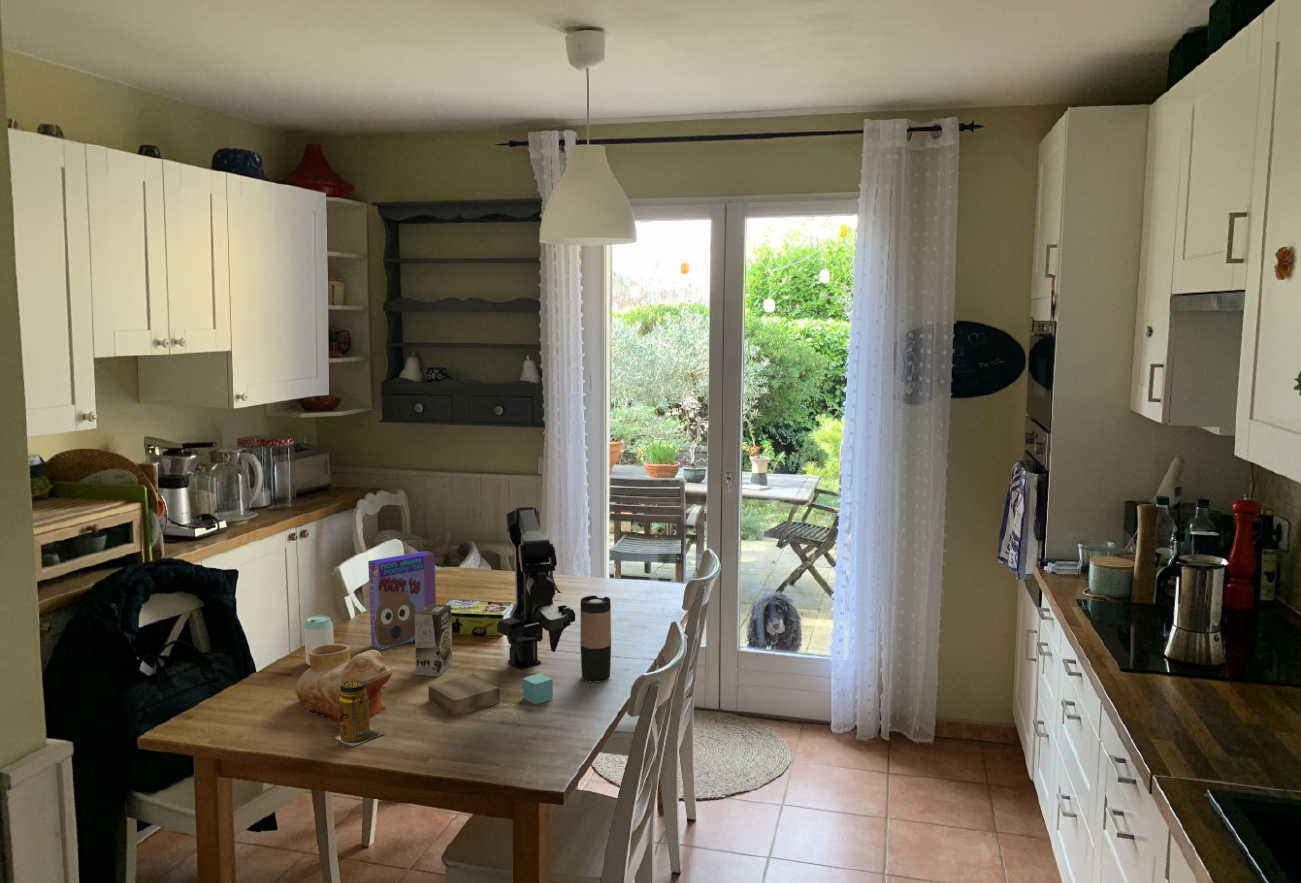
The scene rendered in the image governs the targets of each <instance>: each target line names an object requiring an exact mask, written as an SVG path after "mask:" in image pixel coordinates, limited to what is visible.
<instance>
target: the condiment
mask: <svg viewBox="0 0 1301 883" xmlns="http://www.w3.org/2000/svg"><path fill="white" fill-rule="evenodd" d="M340 689H341V693H340V694H341V696H340V698H339V709H340V722H339V730H340V731H339V732H340V734H339V735H337V736H341V743H343V742H344V743H343V744H345V745H348V746H350V747H355V746H357V745H360V744H363V743H365V742H368V741H370V740H372V739H375V738H378V737H380V736H382V735H385V734H386V733H385V732H383V731H380V730H378V729H376V728H374V727H372V726H371V725H370V718H369V699H368V694H367V693H366V691H367V690H366V683H365V682H364V681H361V680H352V681H347V682H345V683H343V684H342V685H341V687H340ZM338 740H339V739H338ZM338 740H337V741H338ZM342 741H343V742H342Z"/></svg>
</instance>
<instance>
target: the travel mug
mask: <svg viewBox="0 0 1301 883" xmlns="http://www.w3.org/2000/svg"><path fill="white" fill-rule="evenodd" d="M611 605H612V604H611V598H610V597H609V596H604V597H599V596H597V595H587V596H584V597H582V598H581V599H580V630H579V632H580V633H579V634H580V639H579V640H580V644H579V645H580V664H581V665H580V667H581V668H580V669H581V678H582V680H583V681H585V680H587V681H586V682H589V681H591V682H590V683H596V682H595V681H602V682H605V681H604V680H606V681H607V679H608V678H609V677H610V678H611V666H612V665H611V664H612V663H611V661H612V659H611V658H612V655H611V654H612V617H611V616H612V614H611V613H612V610H611V609H612V608H611ZM610 678H609V679H610ZM609 679H608V680H609Z"/></svg>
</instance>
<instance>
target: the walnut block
mask: <svg viewBox="0 0 1301 883" xmlns="http://www.w3.org/2000/svg"><path fill="white" fill-rule="evenodd" d="M500 689H501V688H500V687H499V686H498V685H495V684H494V683H492V682H489V681H488V680H486V679H484V678H481V677H480V676H478V675H476V674H474V673H471V674H467V675H464V676H459V677H455V678H453V679H449V680H444V681H441V682H437V683H435V684H430V685H428V689H427V690H428V701H429V700H430V701H431V703H432V702H433V703H432V704H433V705H435V704H436V705H435V706H437V707H439V708H441V709H442V710H444V711H445V710H446V712H447V711H448V712H447V713H449V714H451V715H452V716H454V717H456V715H457V716H460V715H463V714H466V712H467V713H470V712H473V711H476V710H479V708H480V709H483V708H486V706H487V707H489V706H488V705H490V706H492V705H491V704H493V705H496V704H499V703H498V702H500V703H501V690H500ZM430 701H429V702H430ZM495 703H496V704H495ZM482 707H483V708H482ZM472 710H473V711H472ZM469 711H470V712H469ZM462 713H463V714H462Z"/></svg>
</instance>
